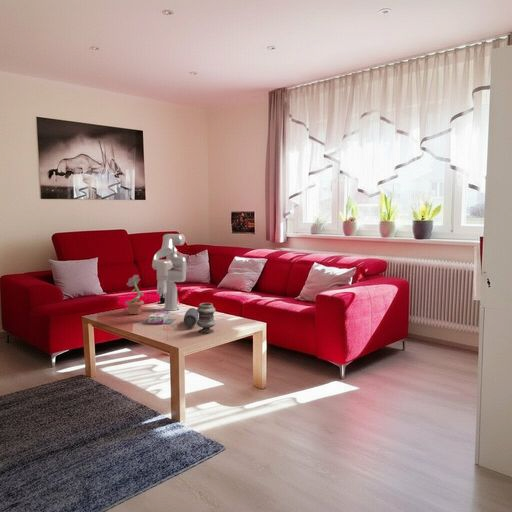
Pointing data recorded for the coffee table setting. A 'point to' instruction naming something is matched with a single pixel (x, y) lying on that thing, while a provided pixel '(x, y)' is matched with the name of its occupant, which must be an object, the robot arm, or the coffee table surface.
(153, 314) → the candy bar box
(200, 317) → the apothecary jar
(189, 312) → the bluetooth speaker
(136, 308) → the decorative flower
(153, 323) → the mat
